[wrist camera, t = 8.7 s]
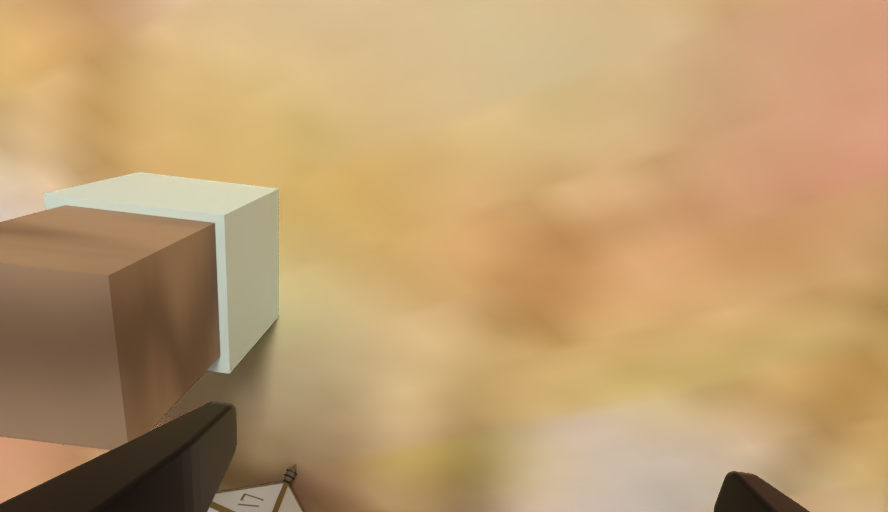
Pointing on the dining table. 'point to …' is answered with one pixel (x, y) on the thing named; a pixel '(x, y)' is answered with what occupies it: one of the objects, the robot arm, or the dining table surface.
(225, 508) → the game die
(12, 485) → the dining table surface
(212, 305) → the walnut block
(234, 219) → the sage block
